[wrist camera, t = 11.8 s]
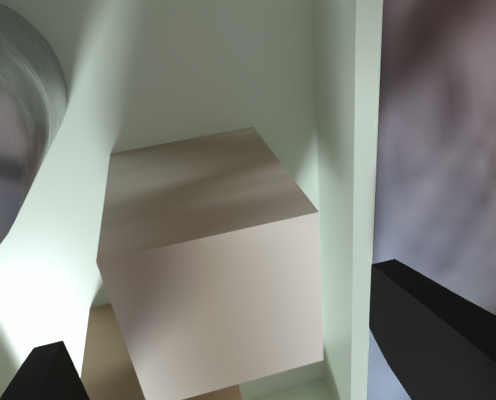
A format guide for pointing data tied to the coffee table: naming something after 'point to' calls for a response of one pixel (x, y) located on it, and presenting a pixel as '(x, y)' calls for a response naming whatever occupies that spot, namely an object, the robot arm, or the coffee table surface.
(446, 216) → the coffee table surface
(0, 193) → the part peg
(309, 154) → the tray
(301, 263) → the part birch
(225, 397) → the part oak
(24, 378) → the robot arm
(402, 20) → the coffee table surface
